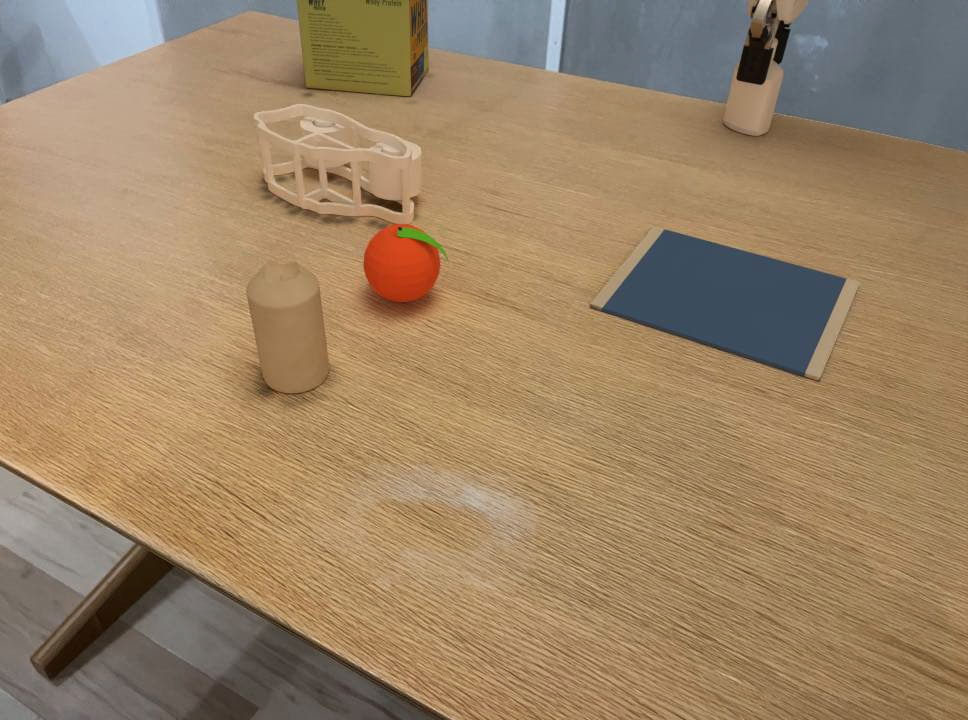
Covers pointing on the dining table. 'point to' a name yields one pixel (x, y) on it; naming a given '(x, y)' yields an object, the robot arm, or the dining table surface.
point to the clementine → (402, 262)
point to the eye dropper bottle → (753, 101)
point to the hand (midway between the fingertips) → (759, 70)
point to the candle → (288, 327)
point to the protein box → (364, 44)
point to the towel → (731, 300)
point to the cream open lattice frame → (342, 163)
